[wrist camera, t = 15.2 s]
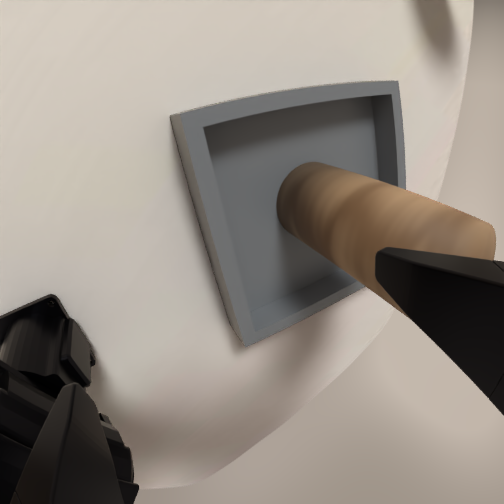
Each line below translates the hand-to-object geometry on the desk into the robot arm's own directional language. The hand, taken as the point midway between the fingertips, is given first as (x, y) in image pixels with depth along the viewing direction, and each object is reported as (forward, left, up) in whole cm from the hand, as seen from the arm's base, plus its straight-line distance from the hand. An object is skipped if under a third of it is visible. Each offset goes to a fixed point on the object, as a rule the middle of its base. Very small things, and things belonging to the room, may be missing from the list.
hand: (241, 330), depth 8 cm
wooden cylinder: (+10, -3, -12) cm, 16 cm away
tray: (+10, -3, -13) cm, 17 cm away
